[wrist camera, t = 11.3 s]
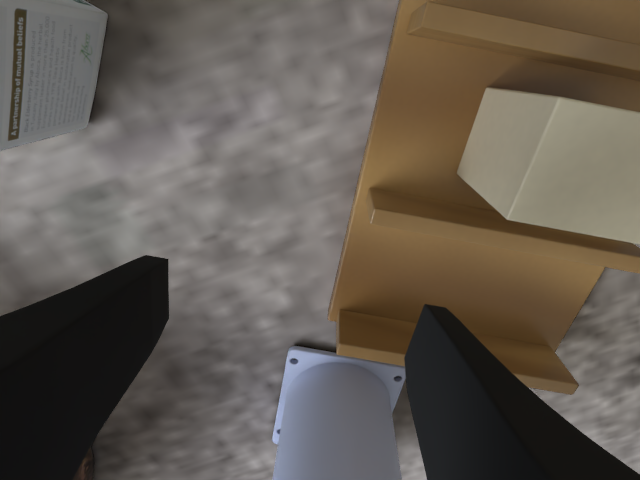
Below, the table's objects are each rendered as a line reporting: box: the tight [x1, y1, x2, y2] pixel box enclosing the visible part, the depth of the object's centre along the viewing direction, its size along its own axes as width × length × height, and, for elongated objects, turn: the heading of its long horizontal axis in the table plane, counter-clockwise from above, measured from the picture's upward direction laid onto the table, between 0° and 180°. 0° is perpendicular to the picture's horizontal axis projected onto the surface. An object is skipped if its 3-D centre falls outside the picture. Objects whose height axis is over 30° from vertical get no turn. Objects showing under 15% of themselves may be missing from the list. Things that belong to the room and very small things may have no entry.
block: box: [457, 87, 640, 244], centre depth 14 cm, size 4×5×6 cm
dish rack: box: [328, 0, 640, 395], centre depth 16 cm, size 24×14×4 cm, turn 170°
